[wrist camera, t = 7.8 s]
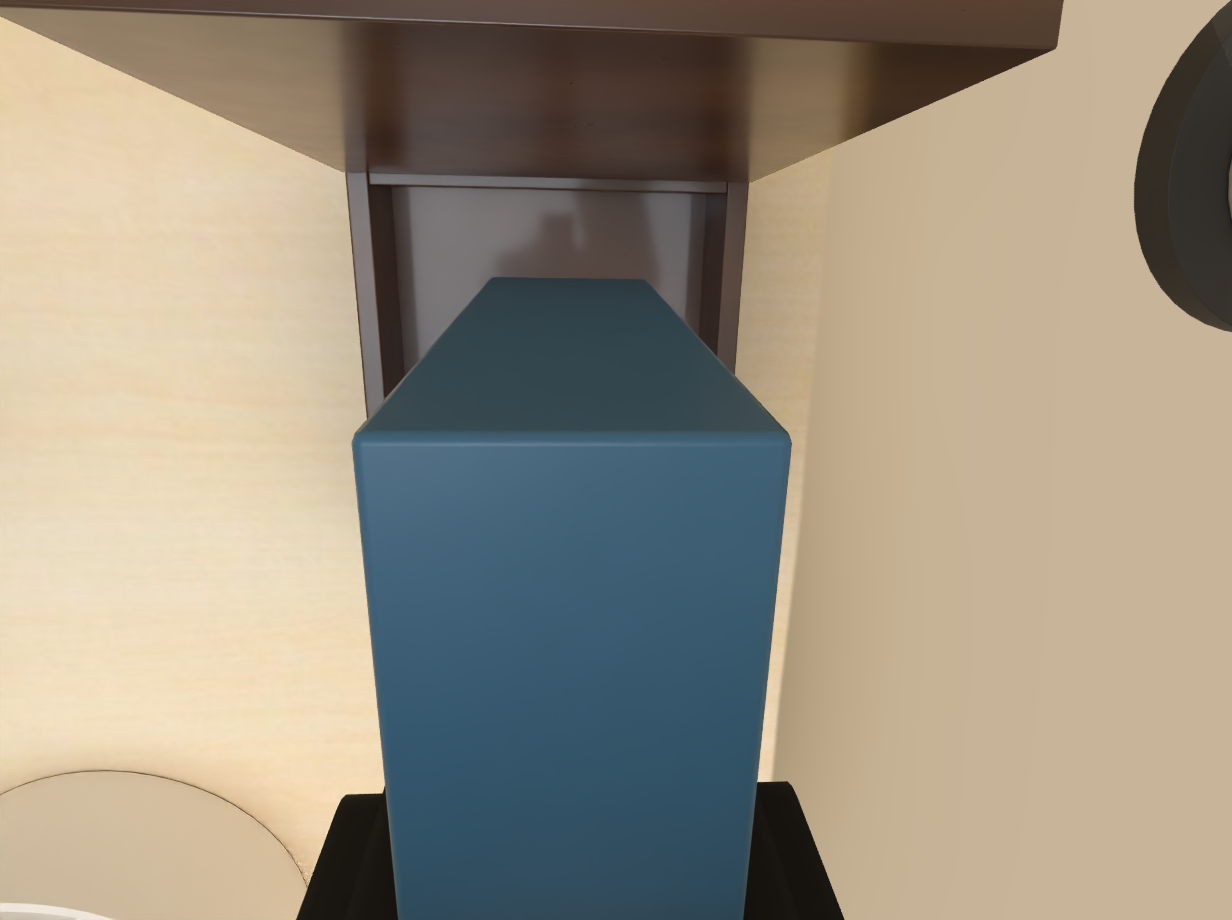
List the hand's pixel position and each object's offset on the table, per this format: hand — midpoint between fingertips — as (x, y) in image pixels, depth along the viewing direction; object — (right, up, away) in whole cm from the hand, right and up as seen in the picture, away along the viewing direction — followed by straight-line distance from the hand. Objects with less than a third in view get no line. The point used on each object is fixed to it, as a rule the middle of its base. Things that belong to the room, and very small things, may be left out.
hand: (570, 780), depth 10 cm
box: (-2, +8, +25) cm, 26 cm away
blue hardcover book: (0, +1, +4) cm, 4 cm away
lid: (-1, +12, +9) cm, 15 cm away
